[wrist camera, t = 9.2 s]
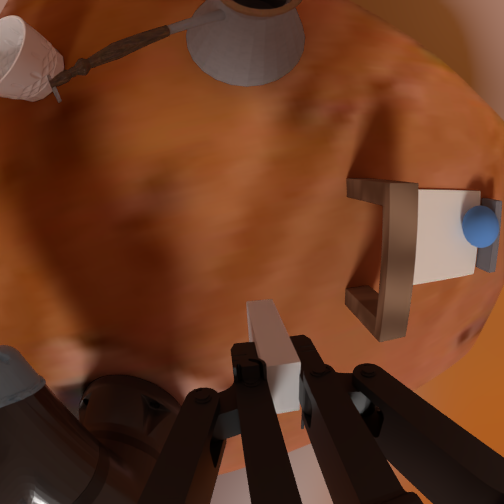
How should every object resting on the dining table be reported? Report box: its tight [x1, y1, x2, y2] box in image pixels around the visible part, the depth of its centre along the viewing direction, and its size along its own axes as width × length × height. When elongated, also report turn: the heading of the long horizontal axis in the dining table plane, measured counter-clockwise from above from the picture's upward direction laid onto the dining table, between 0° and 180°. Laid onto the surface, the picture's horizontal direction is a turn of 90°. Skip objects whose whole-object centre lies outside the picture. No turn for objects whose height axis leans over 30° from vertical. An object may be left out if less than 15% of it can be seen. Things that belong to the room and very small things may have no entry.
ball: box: [462, 205, 499, 248], centre depth 33 cm, size 6×6×6 cm
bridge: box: [345, 178, 418, 342], centre depth 30 cm, size 14×3×9 cm, turn 3°
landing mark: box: [413, 189, 481, 285], centre depth 35 cm, size 12×12×1 cm
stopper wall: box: [476, 198, 502, 273], centre depth 34 cm, size 10×2×3 cm, turn 3°
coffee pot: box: [47, 0, 305, 103], centre depth 20 cm, size 21×12×15 cm, turn 121°
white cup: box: [0, 15, 64, 102], centre depth 20 cm, size 8×8×10 cm
